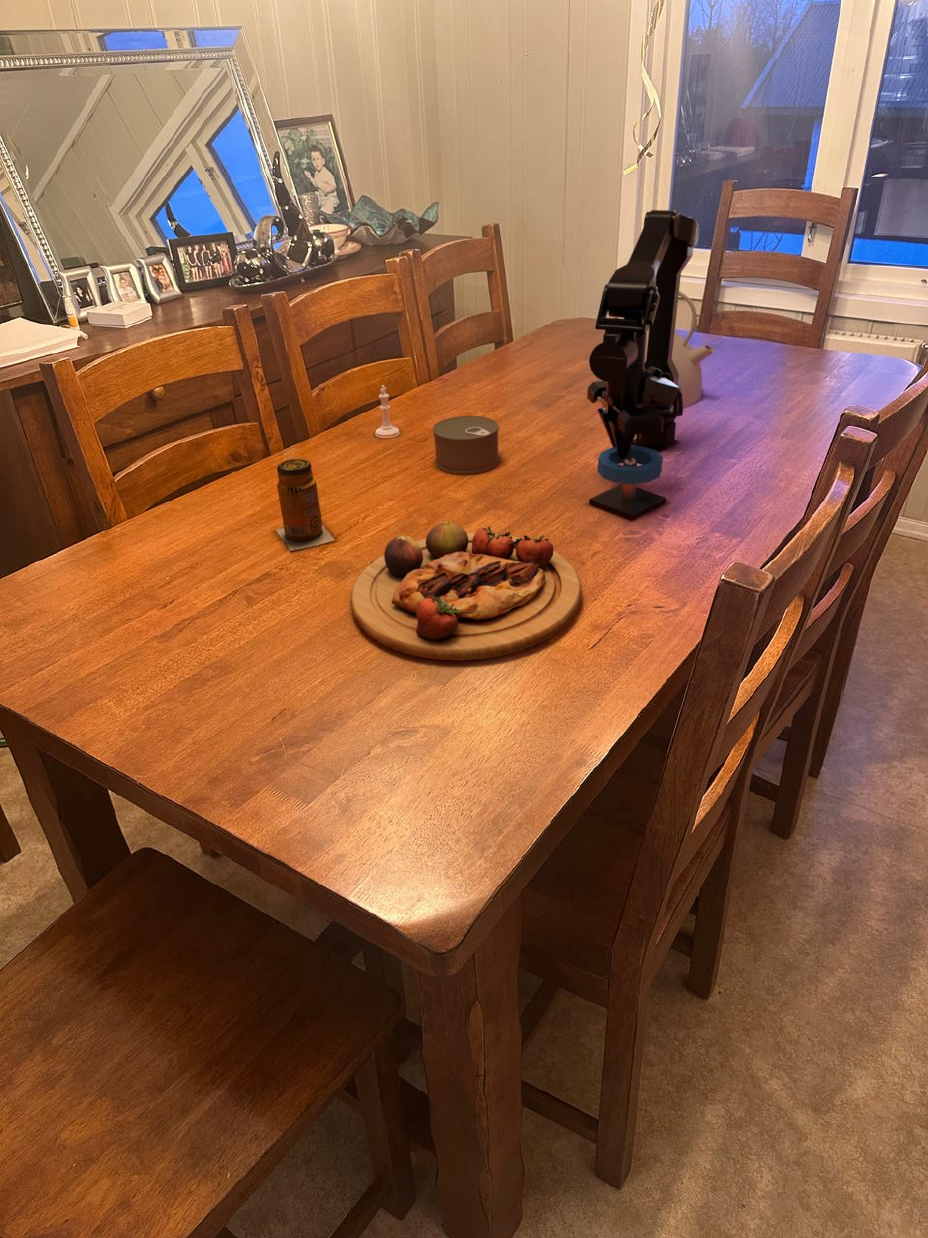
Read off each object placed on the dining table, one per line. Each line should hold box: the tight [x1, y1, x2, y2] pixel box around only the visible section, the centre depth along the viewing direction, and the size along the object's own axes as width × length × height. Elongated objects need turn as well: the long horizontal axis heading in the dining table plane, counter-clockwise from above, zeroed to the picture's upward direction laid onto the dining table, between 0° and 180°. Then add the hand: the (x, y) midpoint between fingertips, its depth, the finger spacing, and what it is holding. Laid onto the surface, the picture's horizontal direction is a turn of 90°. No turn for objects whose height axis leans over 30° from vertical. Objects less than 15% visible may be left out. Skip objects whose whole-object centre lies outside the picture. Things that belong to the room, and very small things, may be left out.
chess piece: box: [374, 384, 401, 439], centre depth 174 cm, size 5×5×10 cm
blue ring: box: [597, 445, 664, 485], centre depth 141 cm, size 10×10×2 cm
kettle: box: [596, 290, 715, 408], centre depth 184 cm, size 25×23×22 cm
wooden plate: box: [349, 519, 583, 661], centre depth 119 cm, size 32×32×8 cm
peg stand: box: [588, 457, 667, 521], centre depth 142 cm, size 9×9×8 cm
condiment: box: [275, 458, 336, 552], centre depth 137 cm, size 7×8×12 cm
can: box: [432, 415, 500, 476], centre depth 161 cm, size 12×12×7 cm
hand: (620, 455), depth 145 cm, fingers closed on blue ring, 2 cm apart
